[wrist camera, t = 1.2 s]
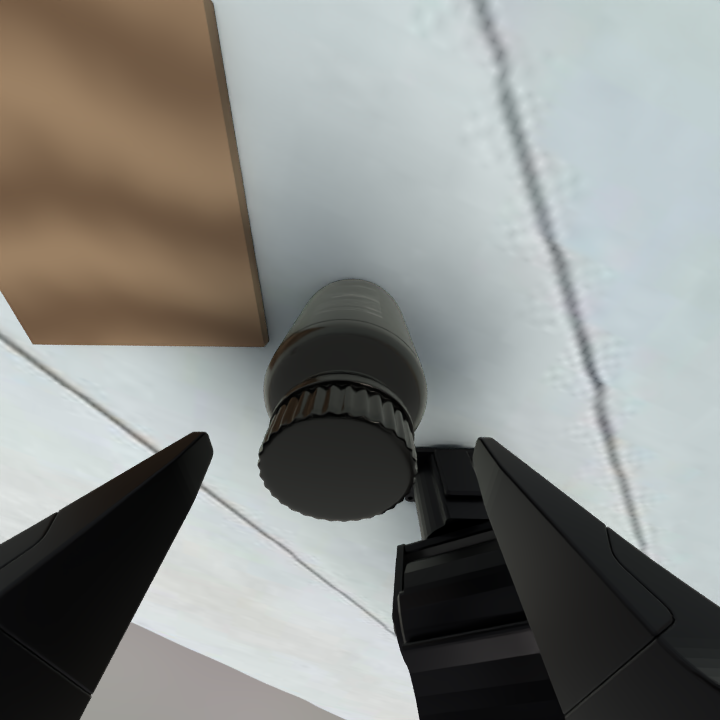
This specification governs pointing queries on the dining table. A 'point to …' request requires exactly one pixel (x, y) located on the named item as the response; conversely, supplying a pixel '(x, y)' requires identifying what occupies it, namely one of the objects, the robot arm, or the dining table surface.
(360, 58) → the dining table surface
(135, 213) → the walnut board
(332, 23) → the dining table surface
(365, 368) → the supplement bottle
